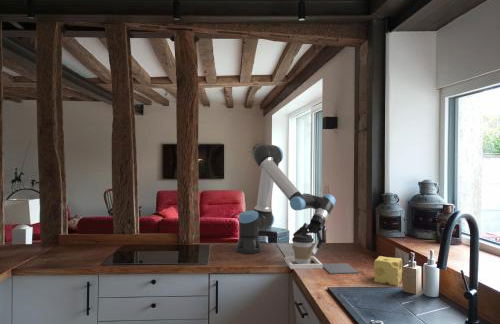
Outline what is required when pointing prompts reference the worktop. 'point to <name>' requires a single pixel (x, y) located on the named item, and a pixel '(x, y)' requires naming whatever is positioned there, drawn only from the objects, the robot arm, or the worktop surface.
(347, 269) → the rubber mat
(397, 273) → the cheese
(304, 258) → the coffee cup
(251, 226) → the robot arm
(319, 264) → the holder frame
